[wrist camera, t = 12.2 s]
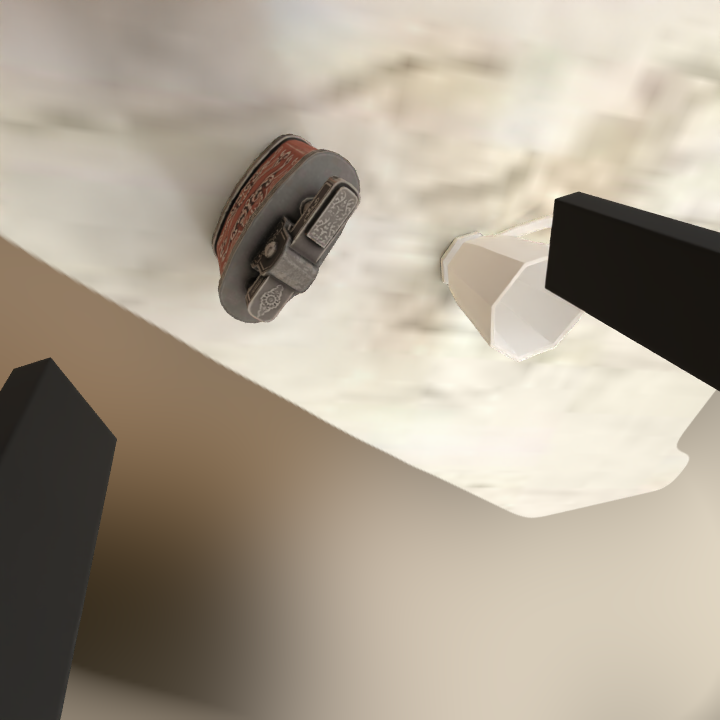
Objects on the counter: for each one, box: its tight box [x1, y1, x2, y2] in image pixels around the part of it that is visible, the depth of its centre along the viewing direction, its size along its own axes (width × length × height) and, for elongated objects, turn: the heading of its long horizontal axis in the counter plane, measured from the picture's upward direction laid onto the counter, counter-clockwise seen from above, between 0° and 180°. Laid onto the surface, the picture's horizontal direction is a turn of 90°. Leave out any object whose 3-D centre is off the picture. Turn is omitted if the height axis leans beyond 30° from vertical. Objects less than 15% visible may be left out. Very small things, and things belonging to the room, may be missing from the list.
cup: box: [441, 214, 586, 362], centre depth 26 cm, size 7×10×8 cm
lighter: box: [212, 134, 361, 323], centre depth 19 cm, size 8×3×10 cm, turn 139°
